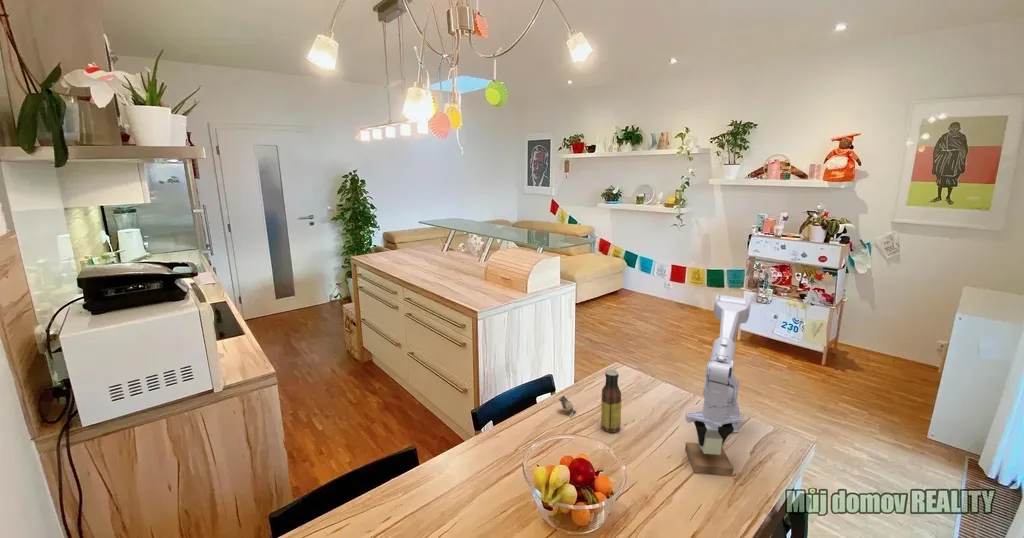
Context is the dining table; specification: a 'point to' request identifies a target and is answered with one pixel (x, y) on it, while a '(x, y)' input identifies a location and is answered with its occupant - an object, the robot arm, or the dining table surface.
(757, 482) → the dining table surface
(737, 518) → the dining table surface
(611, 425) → the sauce bottle
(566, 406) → the bird figurine
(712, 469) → the walnut block
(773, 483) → the dining table surface
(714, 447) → the sage cube
